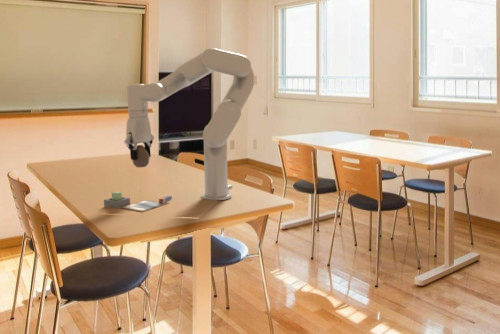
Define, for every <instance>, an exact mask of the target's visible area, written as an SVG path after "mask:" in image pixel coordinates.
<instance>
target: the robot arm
mask: <svg viewBox="0 0 500 334" xmlns="http://www.w3.org/2000/svg"><path fill="white" fill-rule="evenodd" d="M213 72H216V73H221V74H225V75H229V76H233V80H232V83H231V85H230V87H229V88H228V91H227V92H226V93H225V96H224V97H223V98H222V100H221V102H219V104H218V106H217V108H216V110H215V112H214V113H213V115H212V117H211V119H210V121H209V122H208V124H207V125H206V126H204V129H203V133H202V139H203V163H204V164H203V165H204V167H203V169H204V173H203V174H204V192H203V193H202V194H201V196H200V197H201V198H202V199H203V200H211V201H225V200H229V199H230V198H232V193H230V192H229V191H230V190H232V189H233V187H234V186H233V185H232V184H229V185H228V142H227V140H228V139H229V137H230V135H231V134H232V132H233V131H234V129H235V127H236V126H237V124H238V122H239V120H240V118H241V116H242V110H243V109H244V106H245V104H246V102H247V101H248V100H249V97H250V95H251V94H252V91H253V89H254V85H255V75H254V70H253V68H252V63H251V60H250V59H249V58H248V57H247V56H246V55H243V54H240V53H235V52H231V51H227V50H222V49H219V48H215V47H214V48H213V47H209V48H206V49H205V50H204V51H202V52H200V54H198V55H196V56H195V57H193V58H191V59H190V60H187V61H186V62H184V63H183V64H180V65H179V66H178V67H177V68H176V69H175V70H174V71H172V72H171V73H170V74H168V75H167V76H165V77H163V78H161V79H160V80H158V81H156V82H152V83H145V84H144V83H130V84H128V85H127V87H126V90H127V108H128V109H127V111H128V118H127V119H126V131H125V133H126V138H125V140H124V141H123V142H124V144H125V145H126V147H127V148H128V150H129V153H130V160H131V161H132V160H137V159H138V158H137V150H136V147H137V146H138V144H141V143H142V144H143V146H144V148H145V149H146V150H147V152H148V154H149V158H151V155H152V154H151V147H152V144H153V142H154V140H155V136H154V135H153V134H152V129H151V123H150V119H149V118H150V117H148V116H149V111H148V102H149V103H150V102H151V103H159V102H161V101H163V100H165V99H166V98H169V97H170V96H172V95H173V94H175V93H177V92H178V91H180V90H182V89H184V88H187V87H189V86H191V85H193V84H194V83H196V82H198V81H199V80H201V79H203V78H204V77H206V76H207V75H210V74H211V73H213Z"/></svg>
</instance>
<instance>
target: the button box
mask: <svg viewBox="0 0 500 334" xmlns="http://www.w3.org/2000/svg"><path fill="white" fill-rule="evenodd" d="M103 205H104V207H103V208H107V207H109V208H114V209H119V208H121V207H124V206H127V205H131V198H130V197H126V196H122V200H118V201H115V200H112V197H109V198H105V199H103Z"/></svg>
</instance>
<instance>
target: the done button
mask: <svg viewBox="0 0 500 334" xmlns="http://www.w3.org/2000/svg"><path fill="white" fill-rule="evenodd" d="M122 195H123V192H122V191H113V192H111V198H112V200H115V201H118V200H122V197H123V196H122Z"/></svg>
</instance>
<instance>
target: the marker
mask: <svg viewBox="0 0 500 334" xmlns="http://www.w3.org/2000/svg"><path fill="white" fill-rule="evenodd" d="M172 199H173V196H172V195H167V196H164V197H160V198H159V199H158V202H159V203H169V201H171V200H172Z"/></svg>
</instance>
